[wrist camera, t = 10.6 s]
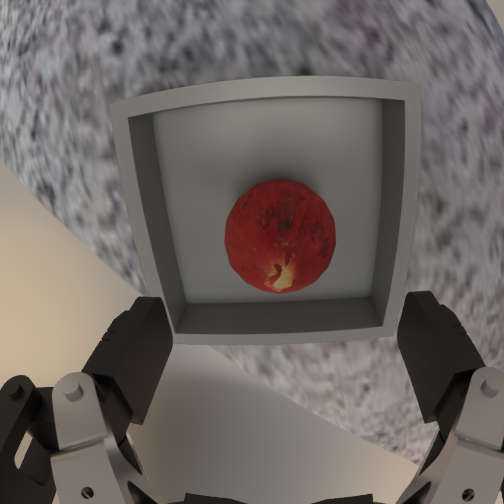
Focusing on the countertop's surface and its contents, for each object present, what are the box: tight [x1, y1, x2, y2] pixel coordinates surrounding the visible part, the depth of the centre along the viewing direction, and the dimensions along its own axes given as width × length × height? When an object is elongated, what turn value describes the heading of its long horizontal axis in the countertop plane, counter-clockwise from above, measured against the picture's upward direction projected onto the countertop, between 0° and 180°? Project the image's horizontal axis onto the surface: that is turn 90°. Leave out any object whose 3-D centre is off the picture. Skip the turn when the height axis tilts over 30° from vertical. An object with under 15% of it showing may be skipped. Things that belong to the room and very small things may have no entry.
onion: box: [224, 178, 336, 294], centre depth 16 cm, size 6×6×8 cm
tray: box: [109, 76, 422, 345], centre depth 18 cm, size 16×16×4 cm
